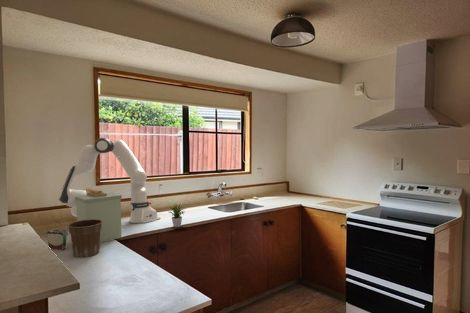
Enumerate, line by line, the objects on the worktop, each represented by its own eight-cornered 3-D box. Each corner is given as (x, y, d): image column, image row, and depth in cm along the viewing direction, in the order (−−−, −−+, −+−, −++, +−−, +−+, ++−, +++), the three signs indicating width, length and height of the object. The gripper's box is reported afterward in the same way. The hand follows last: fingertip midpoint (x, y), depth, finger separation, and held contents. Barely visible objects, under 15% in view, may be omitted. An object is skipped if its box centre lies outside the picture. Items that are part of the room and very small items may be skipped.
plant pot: (61, 258, 153) (60, 226, 152) (81, 248, 169) (80, 218, 168) (91, 260, 151) (90, 227, 150) (109, 249, 167) (108, 219, 166)
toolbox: (111, 232, 199) (110, 190, 198) (122, 237, 187) (121, 192, 186) (76, 239, 185) (75, 193, 184) (86, 245, 173) (84, 197, 172)
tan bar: (91, 192, 198) (91, 188, 198) (102, 195, 185) (102, 190, 185) (85, 193, 196) (85, 188, 196) (96, 196, 183) (96, 191, 183)
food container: (73, 247, 171) (73, 229, 170) (64, 250, 165) (64, 232, 164) (55, 245, 174) (55, 227, 174) (46, 249, 168) (45, 230, 168)
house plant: (182, 229, 203) (182, 205, 203) (163, 229, 206) (162, 204, 205) (190, 224, 217) (189, 201, 217) (171, 223, 220) (171, 201, 219)
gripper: (64, 201, 201) (69, 193, 192) (96, 197, 215) (102, 189, 206) (66, 210, 199) (71, 202, 190) (98, 206, 213) (105, 197, 204)
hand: (88, 195), depth 198 cm, fingers open, 8 cm apart
